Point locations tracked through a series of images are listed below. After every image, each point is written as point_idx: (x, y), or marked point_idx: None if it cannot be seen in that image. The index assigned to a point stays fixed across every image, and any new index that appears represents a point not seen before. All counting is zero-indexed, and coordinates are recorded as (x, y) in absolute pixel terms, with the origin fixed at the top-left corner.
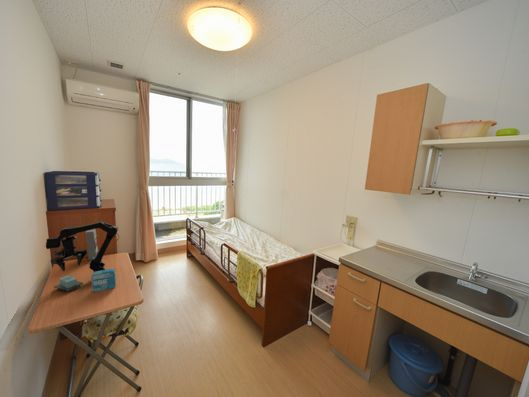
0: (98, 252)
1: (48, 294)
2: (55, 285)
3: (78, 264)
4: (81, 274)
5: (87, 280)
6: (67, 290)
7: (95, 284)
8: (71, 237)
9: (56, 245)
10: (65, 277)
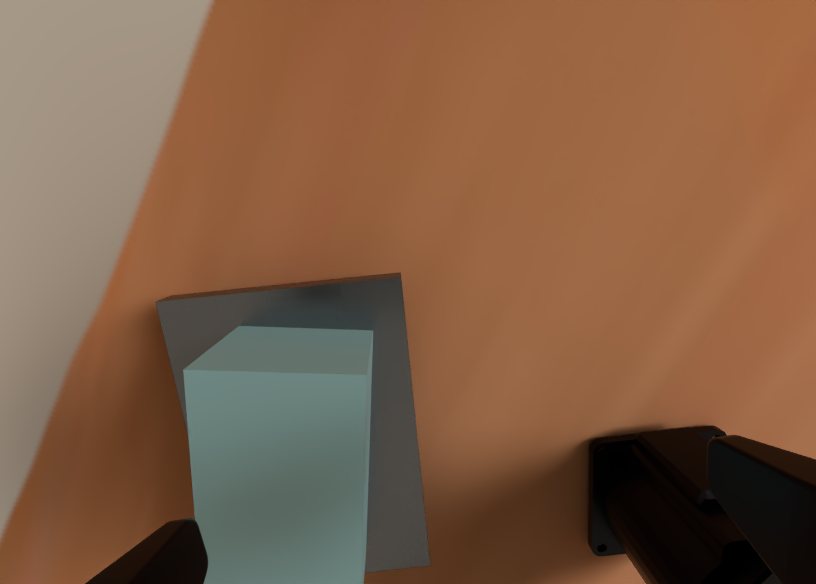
0: None
1: (101, 362)
2: (180, 298)
3: (733, 479)
4: (643, 100)
5: (539, 412)
6: None
7: None
8: None
9: None
10: (277, 428)
